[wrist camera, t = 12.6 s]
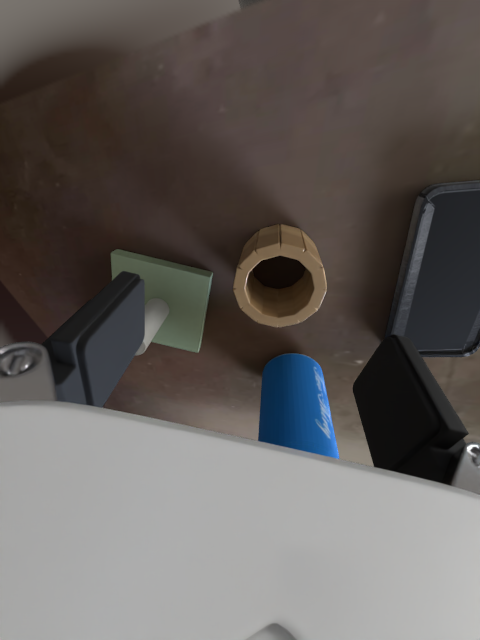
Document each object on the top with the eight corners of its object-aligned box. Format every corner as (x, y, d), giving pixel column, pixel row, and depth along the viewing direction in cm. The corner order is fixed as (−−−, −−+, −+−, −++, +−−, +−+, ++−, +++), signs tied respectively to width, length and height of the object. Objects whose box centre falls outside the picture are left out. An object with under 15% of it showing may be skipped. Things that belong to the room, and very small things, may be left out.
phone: (385, 357, 27) (426, 187, 19) (381, 349, 28) (419, 185, 20) (476, 356, 26) (561, 175, 18) (469, 349, 26) (546, 174, 18)
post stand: (117, 248, 25) (68, 281, 19) (213, 272, 25) (193, 311, 19) (120, 326, 30) (82, 371, 24) (200, 345, 30) (182, 394, 24)
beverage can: (333, 374, 30) (362, 489, 20) (288, 399, 33) (293, 510, 23) (295, 338, 28) (305, 446, 18) (250, 368, 31) (238, 476, 21)
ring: (250, 215, 22) (244, 233, 18) (329, 235, 22) (341, 257, 18) (234, 287, 26) (226, 315, 22) (302, 304, 26) (307, 335, 22)
